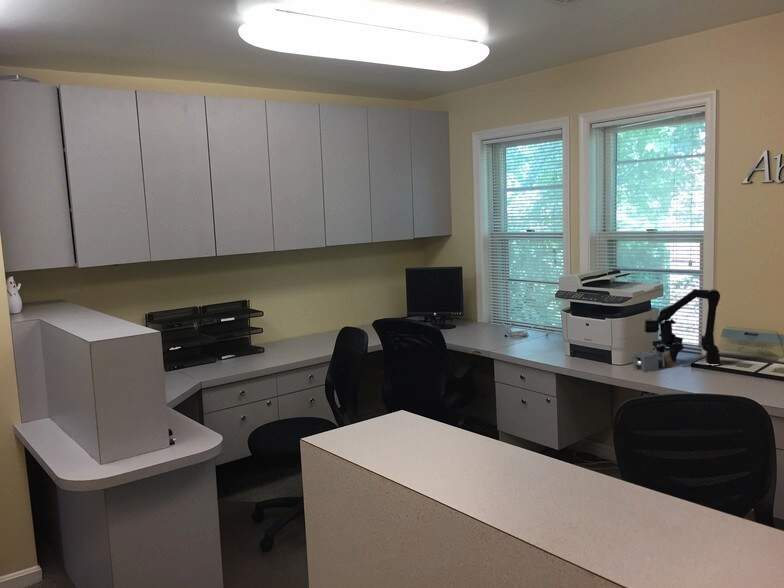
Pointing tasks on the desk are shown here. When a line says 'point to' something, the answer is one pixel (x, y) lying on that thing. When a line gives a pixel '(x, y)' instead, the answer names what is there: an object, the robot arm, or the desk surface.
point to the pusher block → (669, 360)
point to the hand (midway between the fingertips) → (668, 360)
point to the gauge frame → (645, 361)
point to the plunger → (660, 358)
